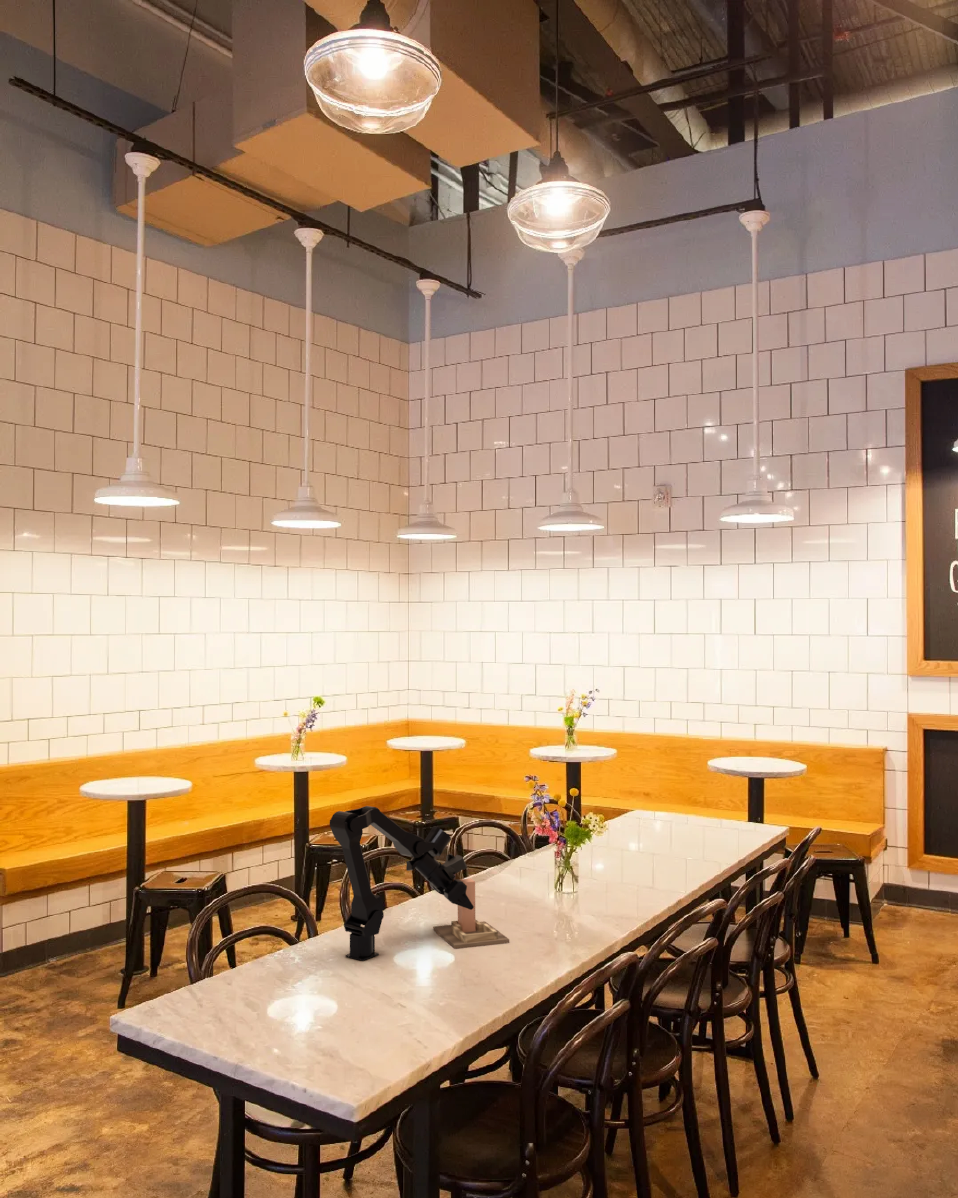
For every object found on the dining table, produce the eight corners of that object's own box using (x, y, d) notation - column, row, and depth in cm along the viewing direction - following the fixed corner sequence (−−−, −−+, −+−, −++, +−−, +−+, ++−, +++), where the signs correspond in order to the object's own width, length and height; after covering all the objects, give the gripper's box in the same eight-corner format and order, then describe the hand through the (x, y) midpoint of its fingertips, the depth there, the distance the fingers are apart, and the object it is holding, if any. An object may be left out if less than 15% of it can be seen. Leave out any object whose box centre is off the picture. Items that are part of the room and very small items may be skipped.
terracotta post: (462, 932, 286) (461, 882, 287) (457, 929, 290) (457, 879, 291) (475, 931, 287) (475, 881, 288) (470, 927, 291) (470, 878, 292)
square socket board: (509, 942, 279) (509, 931, 279) (454, 949, 274) (454, 937, 274) (484, 924, 298) (484, 914, 298) (433, 930, 293) (433, 919, 293)
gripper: (459, 853, 280) (497, 890, 283) (439, 841, 297) (475, 876, 300) (432, 884, 276) (470, 921, 280) (414, 870, 294) (450, 905, 297)
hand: (467, 904), depth 289 cm, fingers open, 9 cm apart
